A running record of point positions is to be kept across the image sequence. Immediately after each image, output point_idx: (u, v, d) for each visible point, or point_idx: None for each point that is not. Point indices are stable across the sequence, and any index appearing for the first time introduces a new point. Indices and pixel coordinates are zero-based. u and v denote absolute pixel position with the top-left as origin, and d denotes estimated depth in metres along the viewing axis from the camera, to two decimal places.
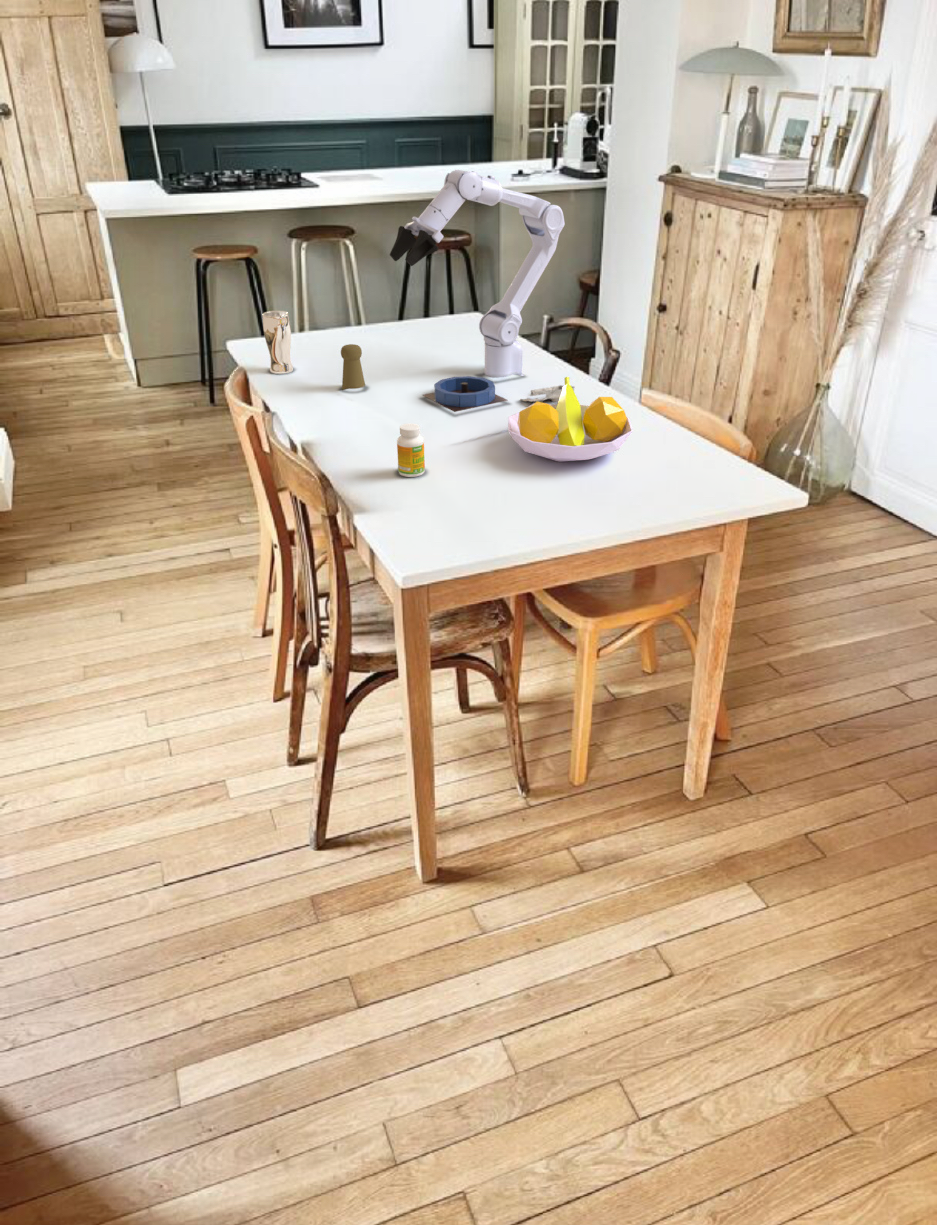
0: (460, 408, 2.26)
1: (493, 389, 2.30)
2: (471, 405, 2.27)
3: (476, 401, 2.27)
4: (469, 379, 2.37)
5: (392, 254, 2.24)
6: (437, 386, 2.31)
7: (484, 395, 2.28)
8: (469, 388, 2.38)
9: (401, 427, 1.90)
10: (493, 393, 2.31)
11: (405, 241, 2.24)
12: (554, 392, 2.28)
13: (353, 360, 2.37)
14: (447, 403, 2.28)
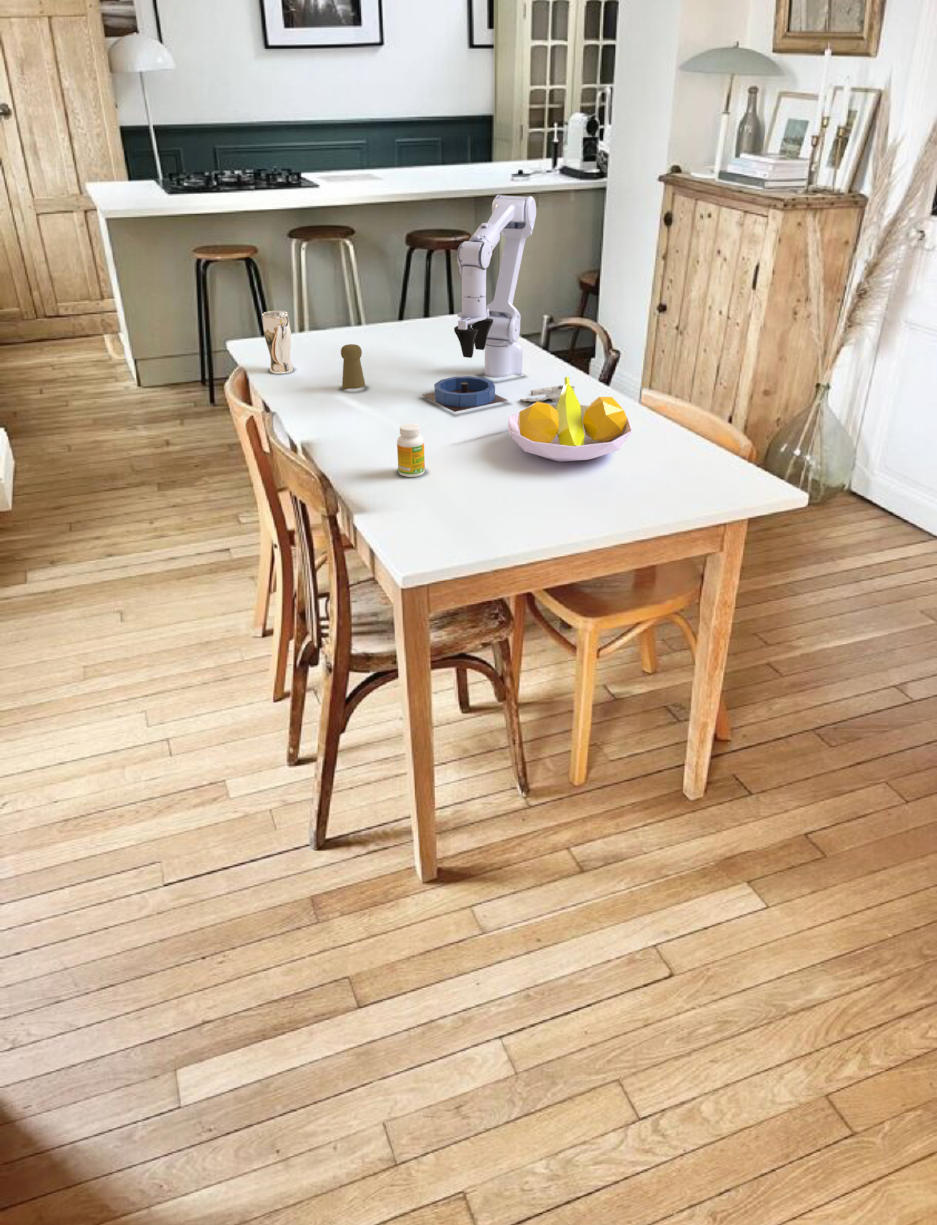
0: (460, 408, 2.26)
1: (493, 389, 2.30)
2: (471, 405, 2.27)
3: (476, 401, 2.27)
4: (469, 379, 2.37)
5: (476, 347, 2.36)
6: (437, 386, 2.31)
7: (484, 395, 2.28)
8: (469, 388, 2.38)
9: (401, 427, 1.90)
10: (493, 393, 2.31)
11: (479, 329, 2.34)
12: (554, 392, 2.28)
13: (353, 360, 2.37)
14: (447, 403, 2.28)
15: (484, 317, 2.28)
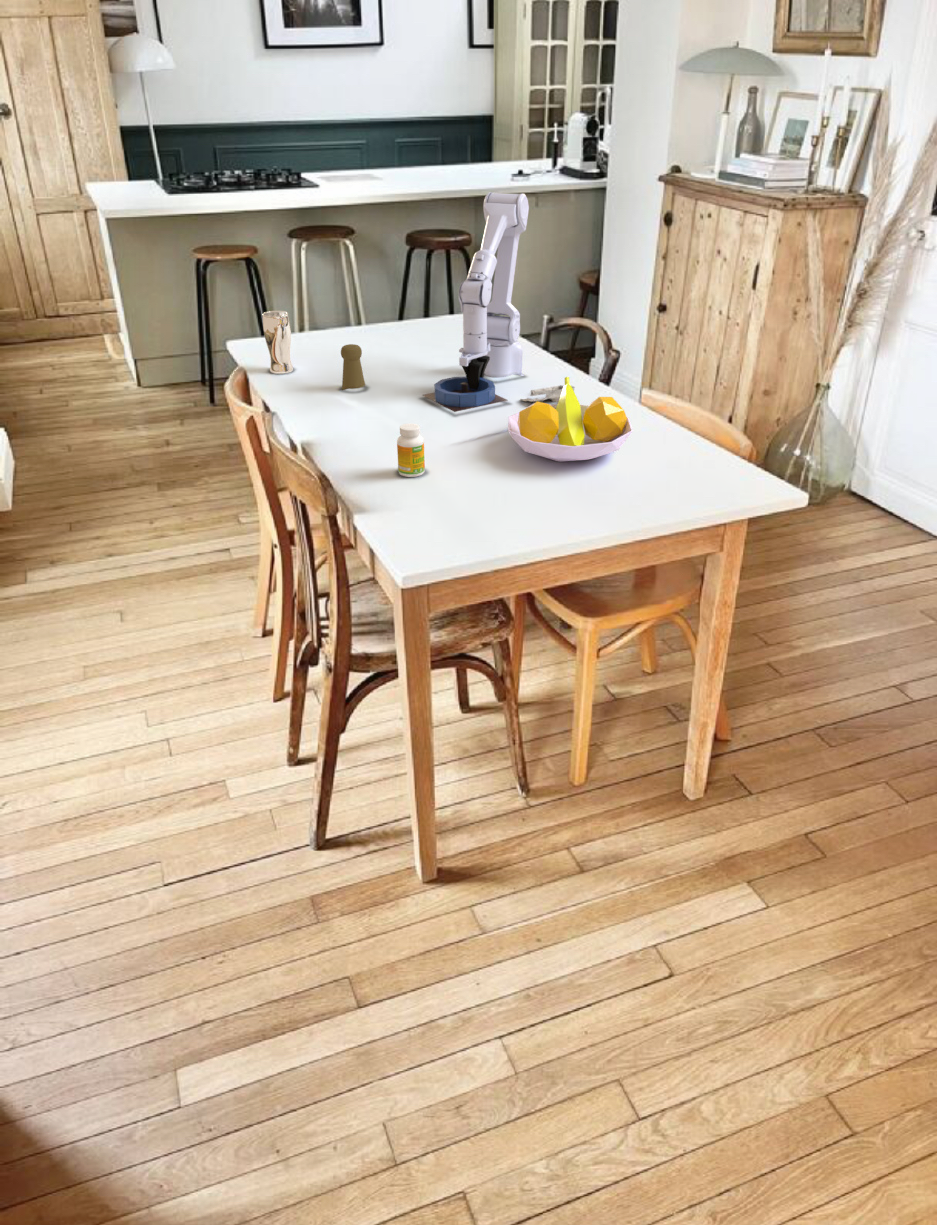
0: (460, 408, 2.26)
1: (493, 389, 2.30)
2: (471, 405, 2.27)
3: (476, 401, 2.27)
4: None
5: None
6: (437, 386, 2.31)
7: (484, 395, 2.28)
8: (469, 388, 2.38)
9: (401, 427, 1.90)
10: (493, 393, 2.31)
11: None
12: (554, 392, 2.28)
13: (353, 360, 2.37)
14: (447, 403, 2.28)
15: (485, 353, 2.32)
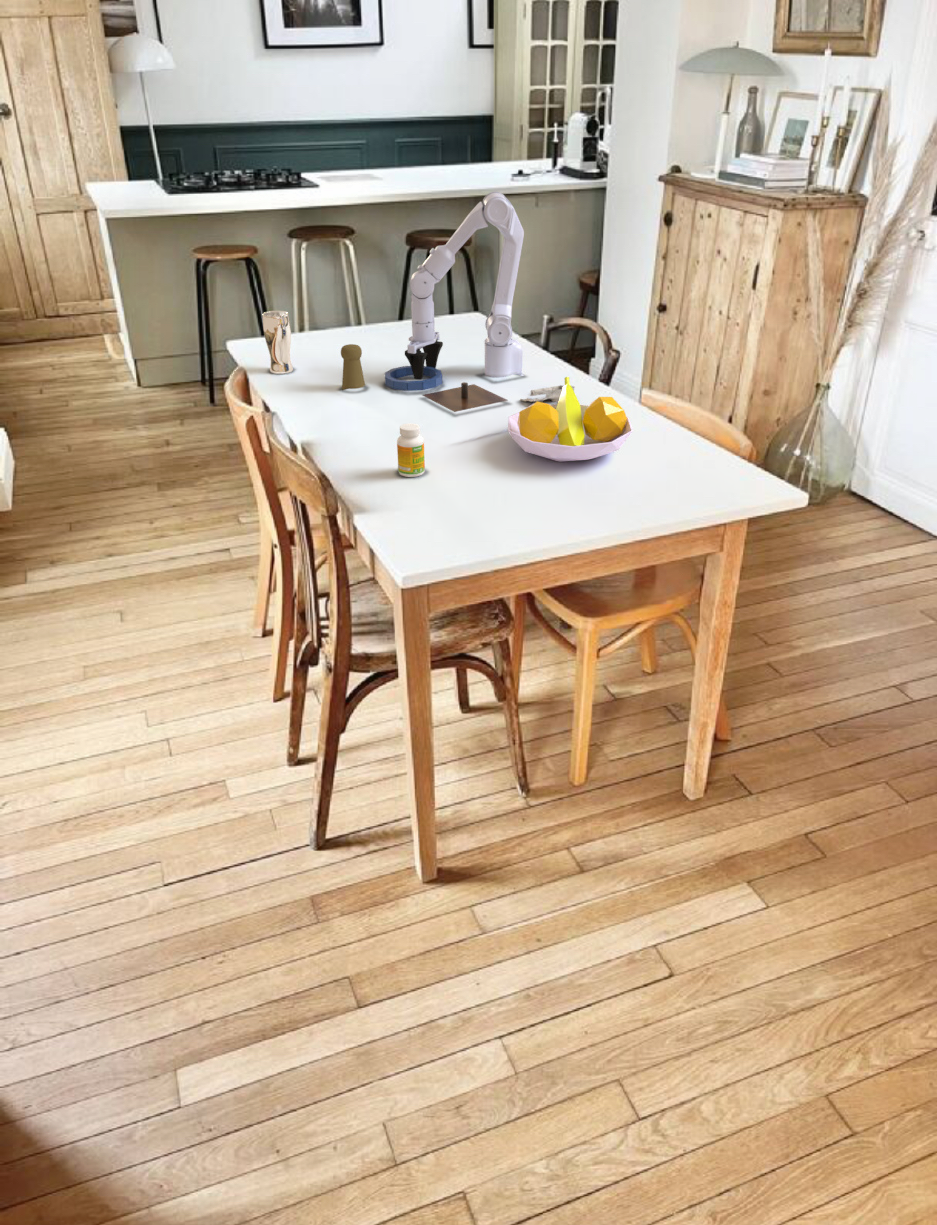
0: (460, 408, 2.26)
1: (440, 377, 2.42)
2: None
3: (423, 388, 2.39)
4: None
5: None
6: (387, 374, 2.43)
7: (431, 383, 2.39)
8: None
9: (401, 427, 1.90)
10: (440, 381, 2.42)
11: (429, 351, 2.50)
12: (554, 392, 2.28)
13: (353, 360, 2.37)
14: None
15: (433, 341, 2.44)
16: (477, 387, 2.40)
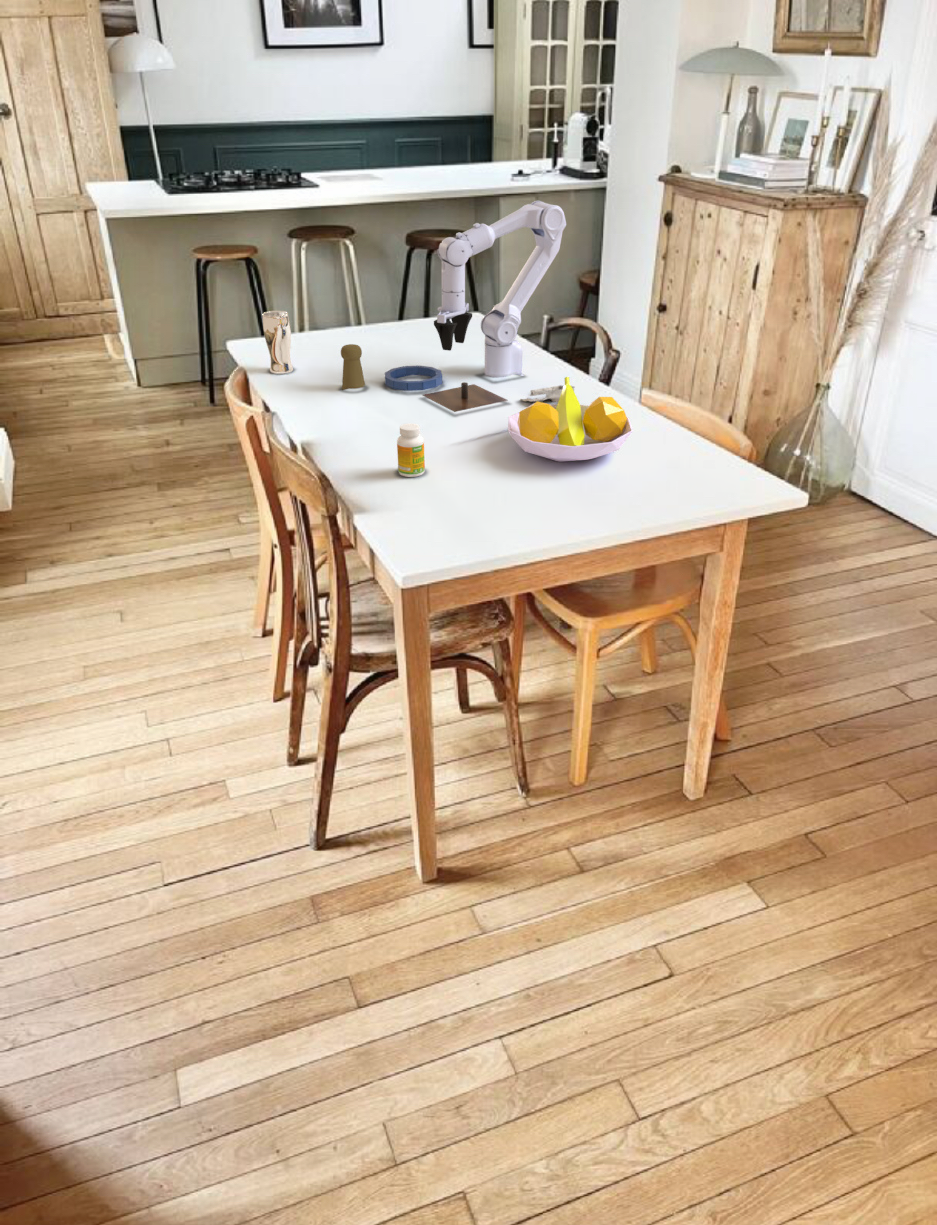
0: (460, 408, 2.26)
1: (440, 377, 2.42)
2: None
3: (423, 388, 2.39)
4: (419, 368, 2.49)
5: (456, 340, 2.45)
6: (387, 374, 2.43)
7: (431, 383, 2.39)
8: None
9: (401, 427, 1.90)
10: (440, 381, 2.42)
11: (458, 323, 2.42)
12: (554, 392, 2.28)
13: (353, 360, 2.37)
14: None
15: (463, 311, 2.36)
16: (477, 387, 2.40)
